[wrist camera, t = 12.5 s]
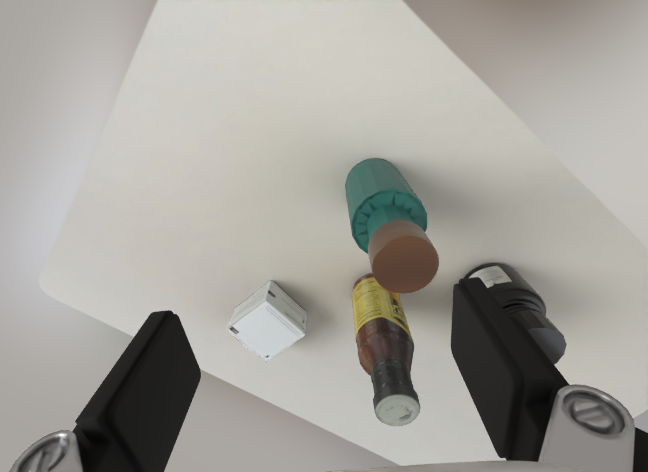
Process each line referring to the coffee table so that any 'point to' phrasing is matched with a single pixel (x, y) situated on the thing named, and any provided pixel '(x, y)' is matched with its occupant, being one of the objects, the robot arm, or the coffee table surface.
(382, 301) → the sauce bottle
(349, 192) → the bottle
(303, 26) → the coffee table surface
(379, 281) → the stopper
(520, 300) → the ink bottle
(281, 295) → the small box
